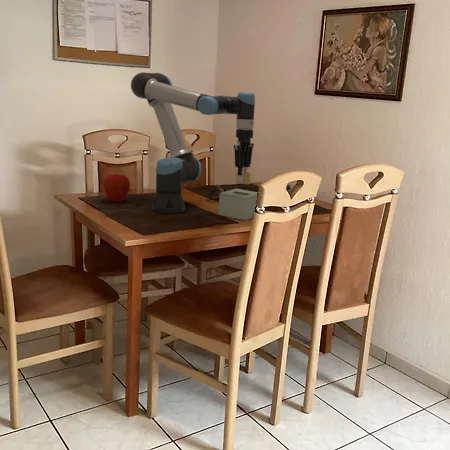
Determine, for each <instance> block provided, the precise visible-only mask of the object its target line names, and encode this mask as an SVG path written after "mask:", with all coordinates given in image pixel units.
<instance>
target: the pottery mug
mask: <svg viewBox="0 0 450 450" xmlns="http://www.w3.org/2000/svg"><path fill="white" fill-rule="evenodd" d="M226 191H228V190H227V188H226V187H222V188H221V186H216V187H214V188H212V189H210V190H209V191H208V192H207V193H206V194H207V199H209V200H211V199H212V198H214V197H215V196H214V195H217V196H220V193H222V192H226Z"/></svg>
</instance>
